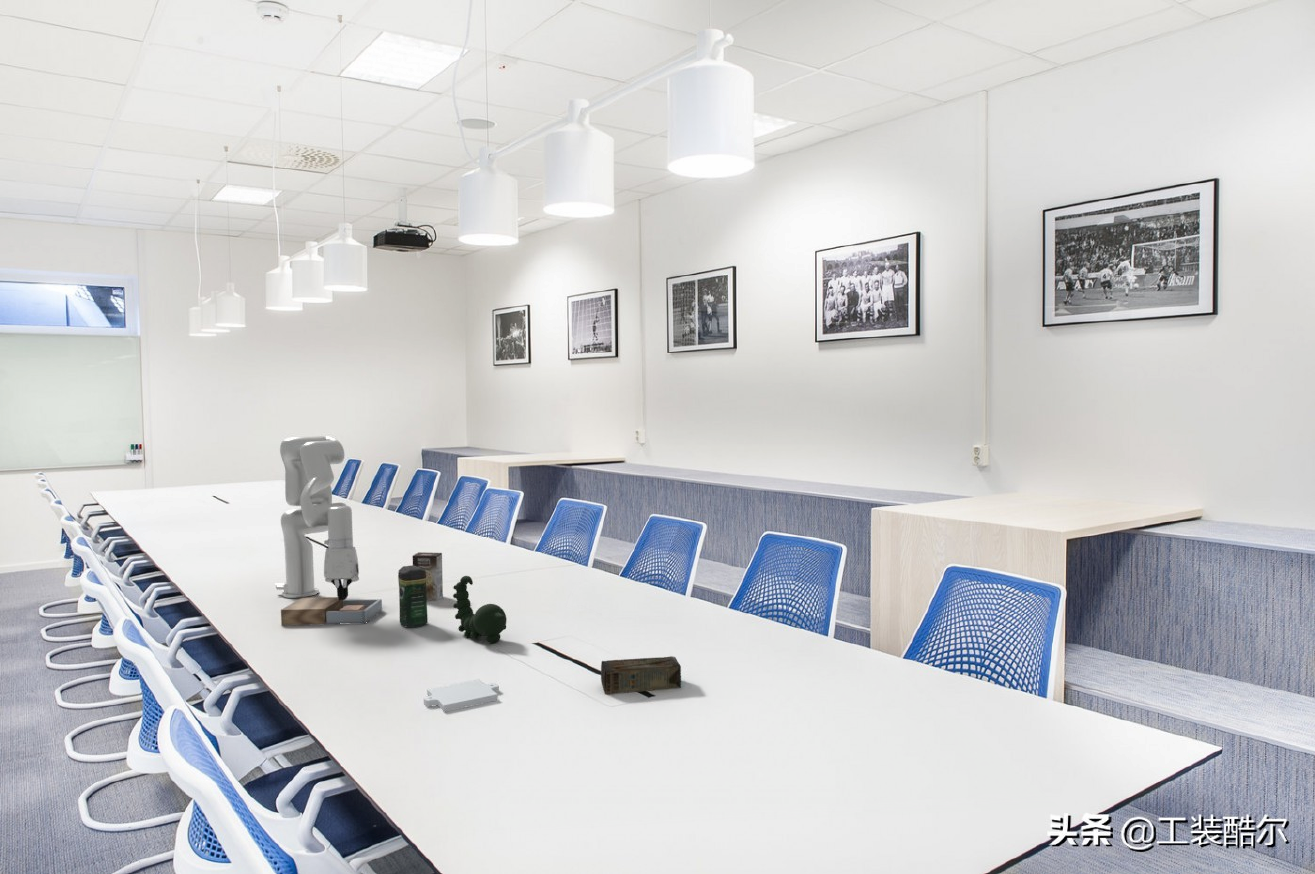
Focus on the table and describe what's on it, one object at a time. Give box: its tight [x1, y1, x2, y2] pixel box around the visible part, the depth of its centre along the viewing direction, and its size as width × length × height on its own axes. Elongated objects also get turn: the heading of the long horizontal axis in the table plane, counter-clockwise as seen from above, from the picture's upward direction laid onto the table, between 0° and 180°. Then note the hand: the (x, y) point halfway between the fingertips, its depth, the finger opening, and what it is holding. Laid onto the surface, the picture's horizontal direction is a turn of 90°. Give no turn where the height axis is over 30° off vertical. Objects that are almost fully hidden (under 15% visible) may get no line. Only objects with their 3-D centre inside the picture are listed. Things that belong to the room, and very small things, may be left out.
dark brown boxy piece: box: [600, 655, 682, 695], centre depth 211 cm, size 8×19×7 cm, turn 101°
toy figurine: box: [452, 575, 507, 644], centre depth 255 cm, size 9×19×25 cm
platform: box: [280, 596, 344, 626], centre depth 283 cm, size 14×16×5 cm
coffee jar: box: [397, 564, 429, 628], centre depth 272 cm, size 10×8×19 cm
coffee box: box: [412, 551, 444, 601], centre depth 307 cm, size 9×6×16 cm
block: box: [339, 605, 365, 611], centre depth 282 cm, size 6×6×3 cm
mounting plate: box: [423, 678, 500, 713], centre depth 206 cm, size 18×13×2 cm
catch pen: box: [324, 598, 383, 625], centre depth 283 cm, size 13×16×4 cm
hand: (342, 598), depth 283 cm, fingers closed
